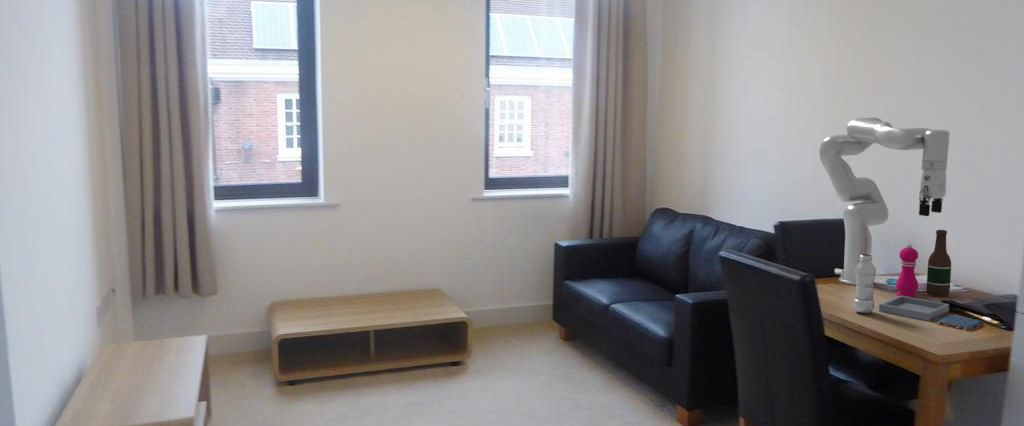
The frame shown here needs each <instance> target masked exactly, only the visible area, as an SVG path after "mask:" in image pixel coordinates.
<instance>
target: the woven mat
mask: <svg viewBox="0 0 1024 426" xmlns="http://www.w3.org/2000/svg"><path fill="white" fill-rule="evenodd" d="M935 321H936V322H935V323H936V325H937V326H938V325H939V326H944V327H949V328H952V329H957V330H963V331H967V332H971V331H973V330H976V329H978V328H980V327H981V326H983V325H984V324H985V323H984V321H983V320H979V319H975V318H969V317H964V316H960V315H959V316H958V315H954V314H951V315H950V314H947V315H945V316H943V317H940V318H938V319H936V320H935Z"/></svg>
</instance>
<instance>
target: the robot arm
mask: <svg viewBox="0 0 1024 426" xmlns="http://www.w3.org/2000/svg"><path fill="white" fill-rule="evenodd" d="M845 128H846V129H845V130H846V134H835V135H831V136H828V137H825V138H824V139H823V140H822V141H821V144H820V145H819V148H818V149H819V151H818V153H819V159H820V161H821V164H822V165H823V167H824V169H825V170H826V172H827V174H828V176H829V178H830V181H831V183H832V186H833V188H834V190H835V193H836V194H837V197H838V198H839V199H840V201H842V202H843V203H852V204H850V205H848V206H847V207H846V208H845V209H844V211H843V214H842V217H843V222H844V223H843V224H844V235H845V236H844V257H843V258H844V259H843V260H844V261H843V269H841V268H834V275H835V274H836V275H840V276H839V278H838V279H839V282H841V283H843V284H847V285H851V286H856V276H855V269H856V266H857V265H858V264H859V263H860V255H861V254H870V255H872V249H873V248H872V247H873V246H872V245H873V237H872V234H871V231H870V228H869V227H873V226H874V227H875V226H881V225H883V224H885V222H887V221H888V219H889V209H888V206H887V204H886V201H885V199H884V197H883V196H882V194H881V191H880V189H879V187H878V185H877V184H876V182H875V181H874V180H872V179H871V178H869V177H865V176H864V177H863V176H862V177H861V176H860V177H857V176H856V175H855V174H854V171H853V170H852V168H851V166H850V165H849V163H848V162H847V161H845V160H844V159H843V158H842V157H846V156H847V157H848V156H855V155H857V156H858V155H860V154H862V153H864V152H865V151H866V150H867V149H868V148H870V147H871V146H872V145H874V144H877V145H879V146H881V147H882V148H883V147H884V148H887V149H893V150H899V151H910V150H922V160H921V170H922V175H921V180H920V181H921V182H920V187H919V188H920V191H919V193H918V194H919V202H918V204H919V208H918V215H919V216H922V217H924V216H925V217H929V216H930V211H931V213H938V214H941V213H942V209H943V208H942V207H943V201H944V197H945V196H946V194H947V193H946V192H947V168H948V167H947V166H948V157H949V156H948V155H949V147H950V144H949V143H950V132H949V131H948V130H944V129H931V128H927V127H919V128H918V127H916V128H914V127H913V128H898V127H893V126H892V124H891V123H890V122H888V121H883V120H882V119H881V118H878V117H874V116H873V117H857V118H854V119H851V120H850V121H849V122H848V123H847V124H846V127H845ZM930 202H931V205H930Z"/></svg>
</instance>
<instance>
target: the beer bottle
mask: <svg viewBox="0 0 1024 426" xmlns="http://www.w3.org/2000/svg"><path fill="white" fill-rule="evenodd" d="M935 234H936V236H935V244H934V249H933V252H932V253H931V254H930V256H929V257H928V261H927V275H926V294H927V296H931V297H936V298H946V297H949V296H950V291H951V290H950V289H951V277H952V260H951V257H950V255H949V254H948V251H947V234H948V231H947V230H946V229H945V230H944V229H937V230H936V231H935Z"/></svg>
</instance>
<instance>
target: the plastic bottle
mask: <svg viewBox="0 0 1024 426" xmlns="http://www.w3.org/2000/svg"><path fill="white" fill-rule="evenodd" d="M872 261H873V255H872V254H871V255H870V254H861V255H860V263H859V264H858V265H857V266H856V269H855V276H856V285H855V292H854V299H853V303H852V306H853V308H852V309H853V310H854V311H855V312H856V313H861V314H870V313H872V312H873V311H874V309H875V301H874V300H875V299H874V286H875V277H876V274H877V269H876V267H875V265H874V264H873V262H872Z"/></svg>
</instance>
